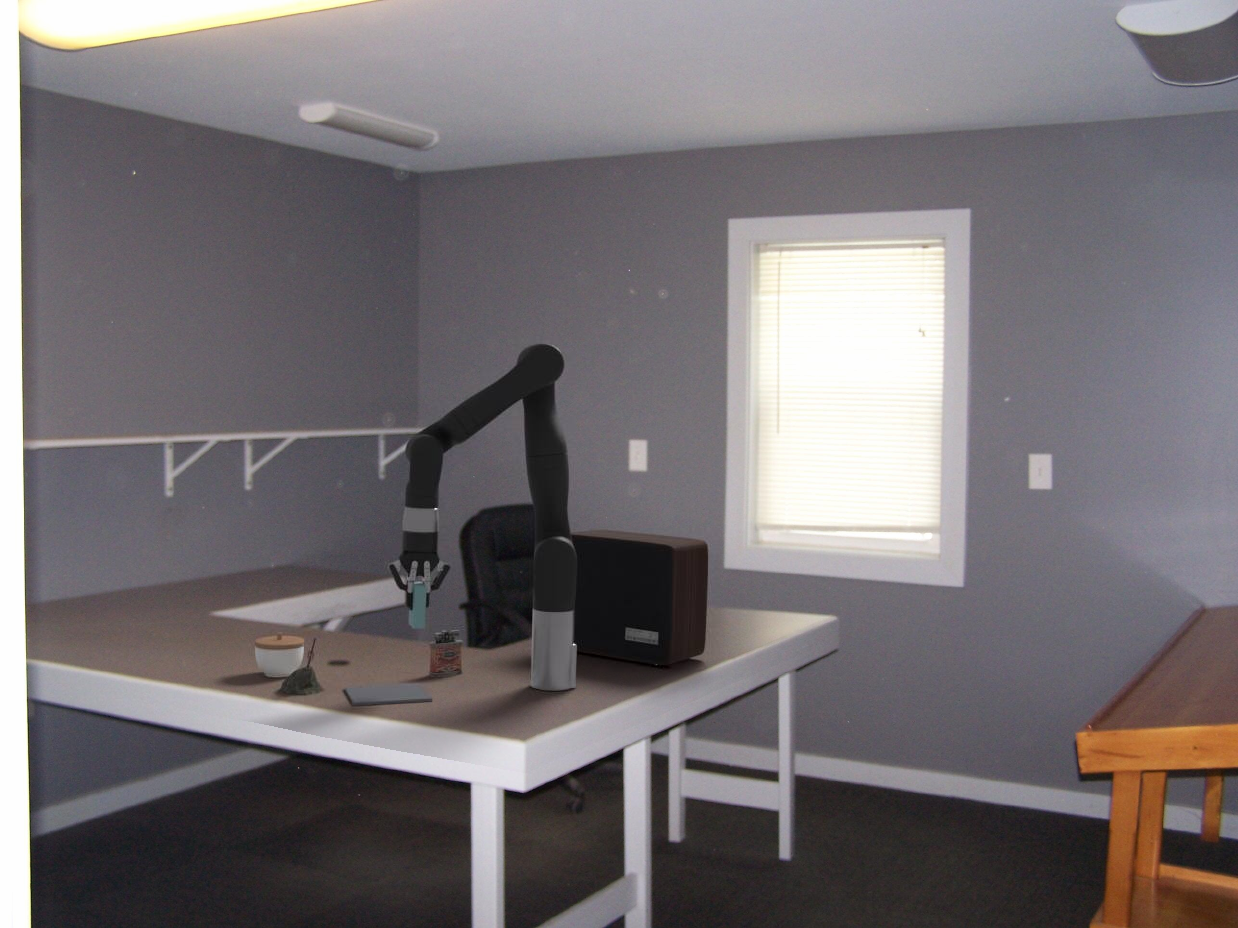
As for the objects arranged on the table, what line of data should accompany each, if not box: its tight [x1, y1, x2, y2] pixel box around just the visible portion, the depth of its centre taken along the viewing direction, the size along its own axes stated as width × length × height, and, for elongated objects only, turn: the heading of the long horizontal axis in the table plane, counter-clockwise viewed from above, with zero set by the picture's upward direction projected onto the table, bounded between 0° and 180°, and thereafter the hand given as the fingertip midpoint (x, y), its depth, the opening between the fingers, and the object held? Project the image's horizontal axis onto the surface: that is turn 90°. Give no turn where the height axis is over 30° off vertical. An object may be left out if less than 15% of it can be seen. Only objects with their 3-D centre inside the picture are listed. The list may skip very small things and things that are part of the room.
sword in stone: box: [280, 637, 325, 696], centre depth 259 cm, size 10×8×12 cm
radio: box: [570, 529, 709, 666], centre depth 305 cm, size 36×18×30 cm, turn 56°
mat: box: [344, 682, 433, 707], centre depth 256 cm, size 16×14×1 cm
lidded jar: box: [254, 632, 305, 678], centre depth 273 cm, size 11×11×9 cm
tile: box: [408, 581, 427, 630], centre depth 259 cm, size 2×6×9 cm, turn 20°
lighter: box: [428, 629, 464, 678], centre depth 278 cm, size 8×3×10 cm, turn 126°
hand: (417, 609), depth 259 cm, fingers closed on tile, 2 cm apart
